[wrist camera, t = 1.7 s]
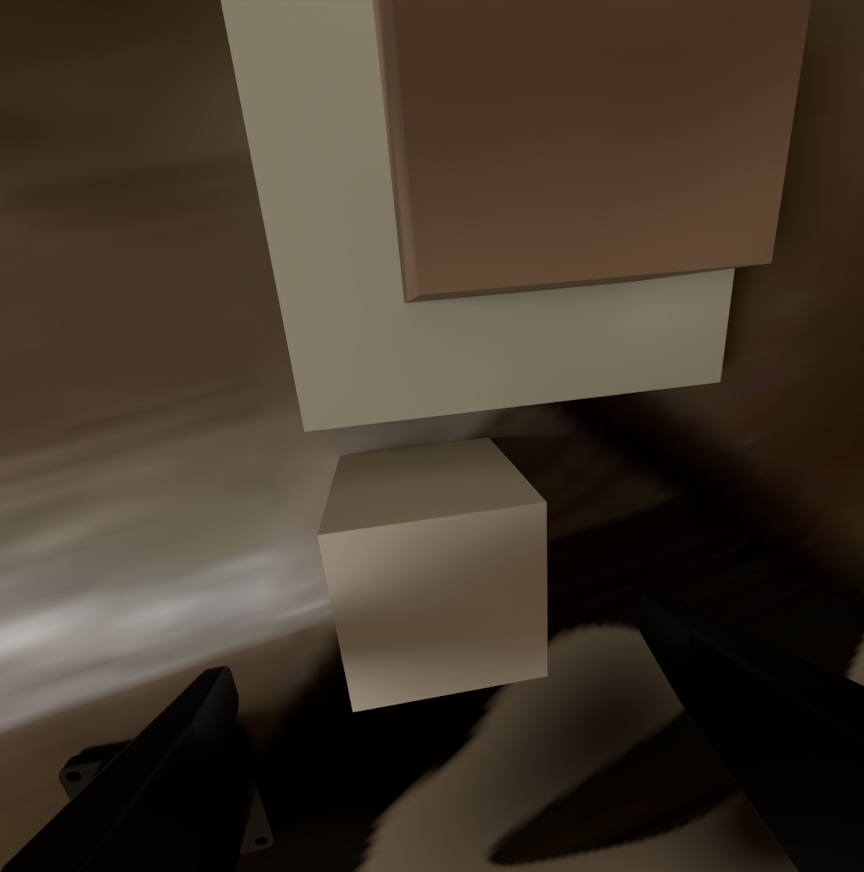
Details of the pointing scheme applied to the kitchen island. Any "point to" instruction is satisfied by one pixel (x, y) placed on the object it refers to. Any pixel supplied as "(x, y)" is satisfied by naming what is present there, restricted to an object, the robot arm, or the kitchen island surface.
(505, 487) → the ceramic cube
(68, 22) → the kitchen island surface
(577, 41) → the walnut block
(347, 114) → the base board
